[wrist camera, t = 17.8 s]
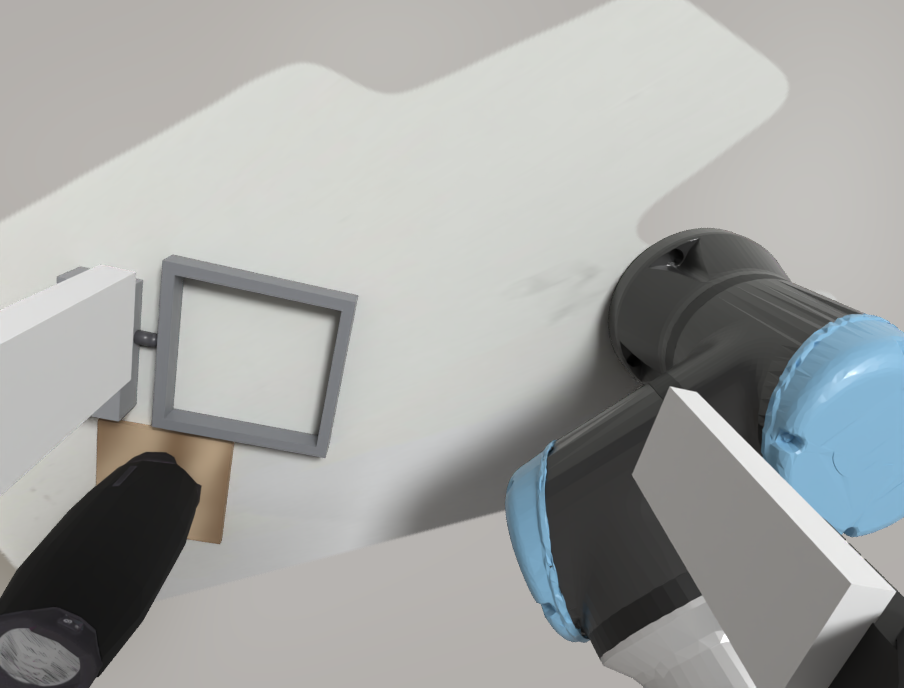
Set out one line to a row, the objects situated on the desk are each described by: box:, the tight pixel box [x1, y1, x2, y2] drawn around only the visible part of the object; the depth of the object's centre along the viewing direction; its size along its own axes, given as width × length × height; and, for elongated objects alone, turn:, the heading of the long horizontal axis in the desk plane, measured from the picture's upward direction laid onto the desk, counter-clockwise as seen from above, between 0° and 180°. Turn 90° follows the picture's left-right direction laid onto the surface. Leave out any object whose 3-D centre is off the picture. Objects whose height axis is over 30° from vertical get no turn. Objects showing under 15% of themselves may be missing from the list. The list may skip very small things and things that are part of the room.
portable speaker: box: [0, 452, 202, 688], centre depth 45 cm, size 9×9×20 cm
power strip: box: [57, 267, 143, 421], centre depth 47 cm, size 5×12×6 cm, turn 166°
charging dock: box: [133, 255, 358, 458], centre depth 49 cm, size 19×16×2 cm
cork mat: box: [96, 418, 234, 544], centre depth 55 cm, size 12×12×1 cm
